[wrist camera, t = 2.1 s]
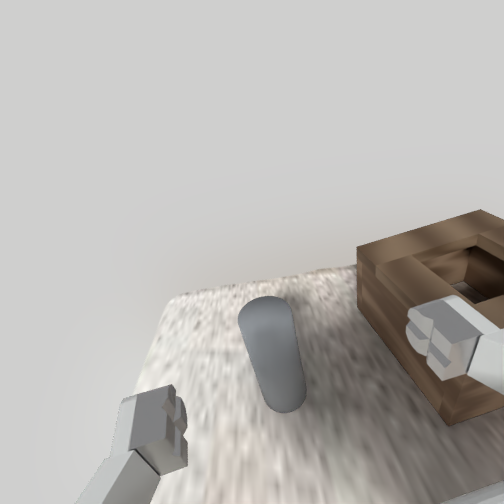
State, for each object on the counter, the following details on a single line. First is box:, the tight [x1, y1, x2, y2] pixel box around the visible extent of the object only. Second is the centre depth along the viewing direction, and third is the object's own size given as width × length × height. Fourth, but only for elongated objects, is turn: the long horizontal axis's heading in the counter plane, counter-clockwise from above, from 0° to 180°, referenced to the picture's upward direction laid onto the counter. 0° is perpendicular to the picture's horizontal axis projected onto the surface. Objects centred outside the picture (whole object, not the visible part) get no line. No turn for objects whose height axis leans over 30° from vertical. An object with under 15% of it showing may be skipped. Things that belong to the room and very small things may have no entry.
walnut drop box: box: [357, 209, 504, 426], centre depth 30 cm, size 16×16×10 cm
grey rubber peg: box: [238, 296, 306, 413], centre depth 28 cm, size 5×5×12 cm
